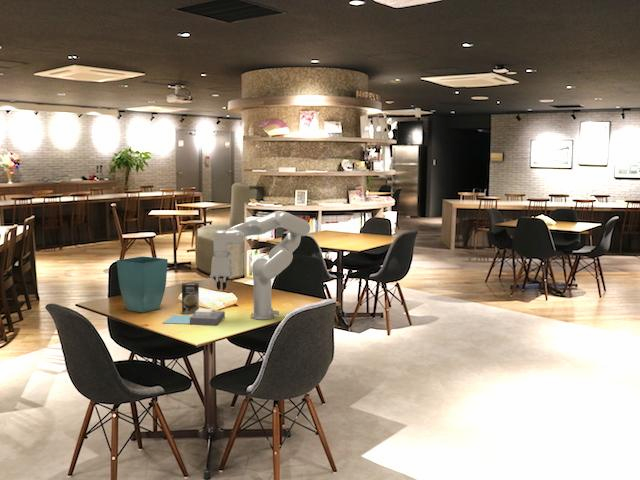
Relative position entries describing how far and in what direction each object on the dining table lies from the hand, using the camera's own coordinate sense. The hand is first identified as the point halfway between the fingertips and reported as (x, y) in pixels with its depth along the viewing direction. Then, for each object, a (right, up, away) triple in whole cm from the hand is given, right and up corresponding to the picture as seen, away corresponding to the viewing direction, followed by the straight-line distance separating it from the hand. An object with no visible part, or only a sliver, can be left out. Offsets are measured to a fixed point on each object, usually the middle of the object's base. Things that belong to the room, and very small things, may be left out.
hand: (221, 289), depth 327 cm
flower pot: (-48, -14, +27) cm, 56 cm away
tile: (-9, -13, +3) cm, 16 cm away
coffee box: (-20, -15, +21) cm, 33 cm away
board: (-8, -17, +3) cm, 19 cm away
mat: (-22, -16, +4) cm, 28 cm away
